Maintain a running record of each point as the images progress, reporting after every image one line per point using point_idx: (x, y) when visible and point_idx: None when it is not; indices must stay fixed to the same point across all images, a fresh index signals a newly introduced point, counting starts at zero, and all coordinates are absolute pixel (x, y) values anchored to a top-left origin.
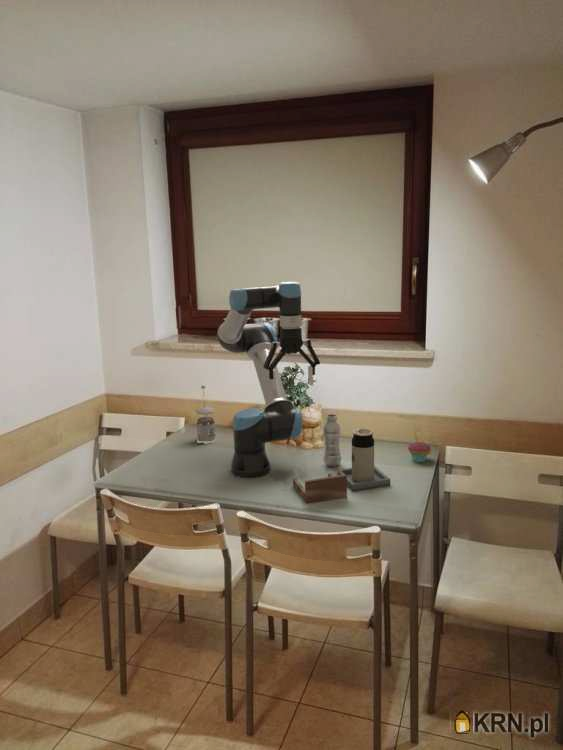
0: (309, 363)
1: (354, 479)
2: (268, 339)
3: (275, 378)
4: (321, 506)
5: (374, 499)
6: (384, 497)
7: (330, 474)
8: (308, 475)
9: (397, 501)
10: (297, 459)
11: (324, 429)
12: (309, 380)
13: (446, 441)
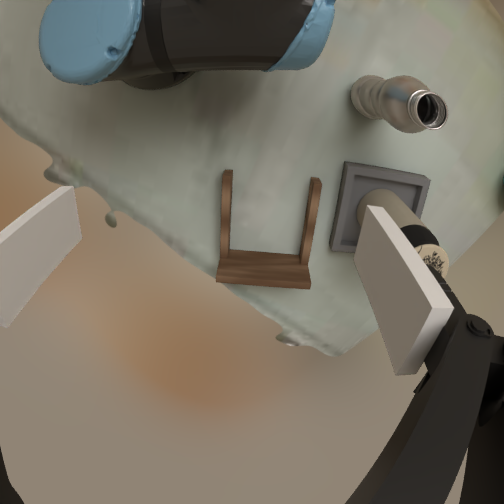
0: (447, 350)
1: (357, 216)
2: None
3: (41, 282)
4: None
5: (343, 283)
6: (362, 283)
7: (316, 190)
8: (284, 124)
9: (369, 301)
10: None
11: (382, 102)
12: (368, 250)
13: None
